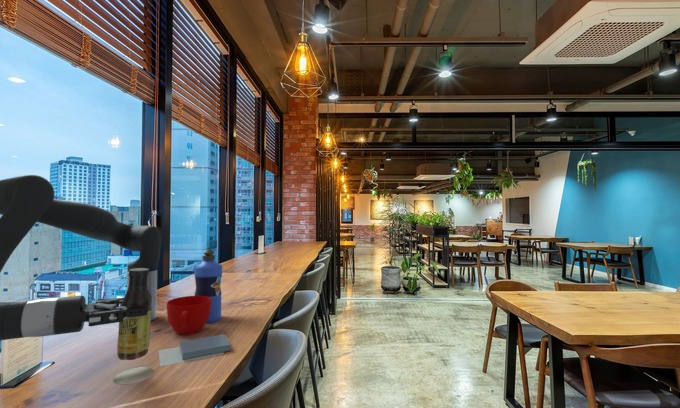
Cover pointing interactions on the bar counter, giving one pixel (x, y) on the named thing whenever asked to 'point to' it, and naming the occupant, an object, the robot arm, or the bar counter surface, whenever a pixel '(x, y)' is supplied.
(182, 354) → the tile
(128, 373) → the coaster
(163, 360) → the mat
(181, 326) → the ceramic cup
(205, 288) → the water bottle
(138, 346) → the sauce bottle
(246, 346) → the bar counter surface
